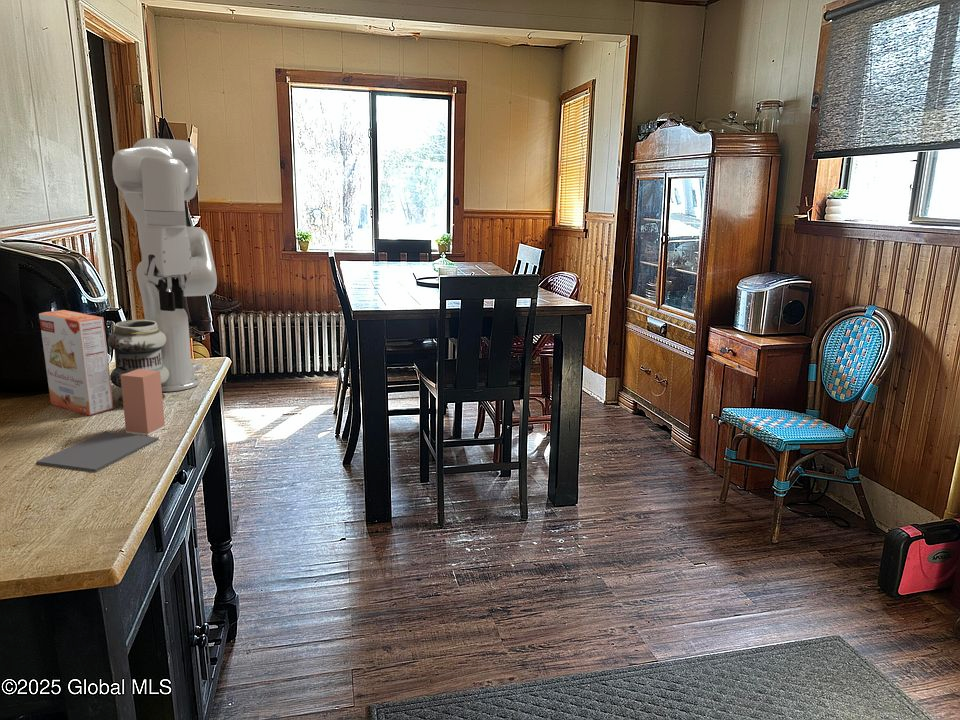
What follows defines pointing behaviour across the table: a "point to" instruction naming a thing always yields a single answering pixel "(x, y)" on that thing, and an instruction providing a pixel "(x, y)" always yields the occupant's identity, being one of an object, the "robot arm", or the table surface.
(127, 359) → the apothecary jar
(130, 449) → the mat
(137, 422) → the salmon pink block
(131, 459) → the table surface
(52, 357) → the cracker box
